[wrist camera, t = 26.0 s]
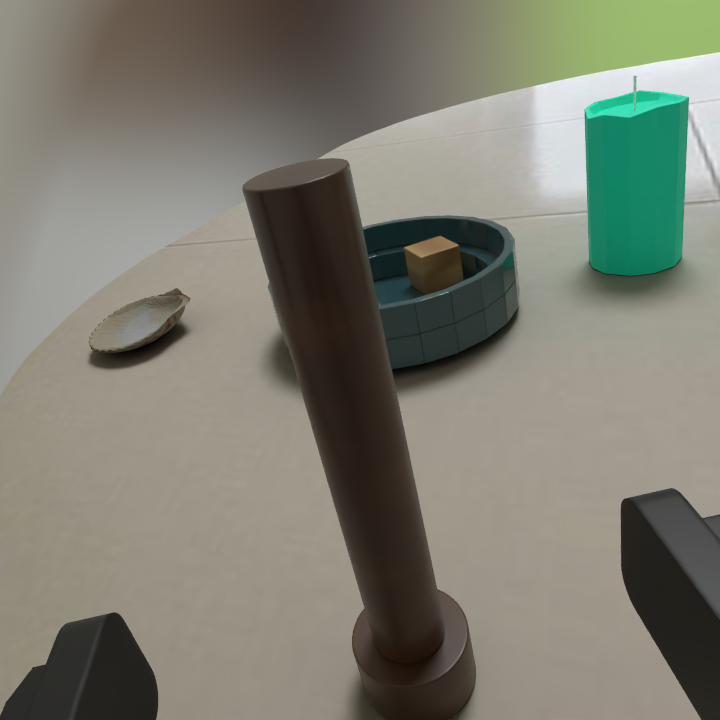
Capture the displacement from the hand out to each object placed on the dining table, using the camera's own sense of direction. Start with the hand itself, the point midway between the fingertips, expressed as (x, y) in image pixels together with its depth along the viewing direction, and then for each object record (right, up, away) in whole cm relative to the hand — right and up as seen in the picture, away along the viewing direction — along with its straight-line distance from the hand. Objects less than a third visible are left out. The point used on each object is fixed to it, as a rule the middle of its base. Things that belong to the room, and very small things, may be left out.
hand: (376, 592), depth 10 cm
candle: (+19, +11, +34) cm, 41 cm away
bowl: (+2, +7, +34) cm, 34 cm away
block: (+5, +9, +36) cm, 37 cm away
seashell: (-17, +5, +40) cm, 44 cm away
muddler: (+2, -6, +10) cm, 12 cm away
